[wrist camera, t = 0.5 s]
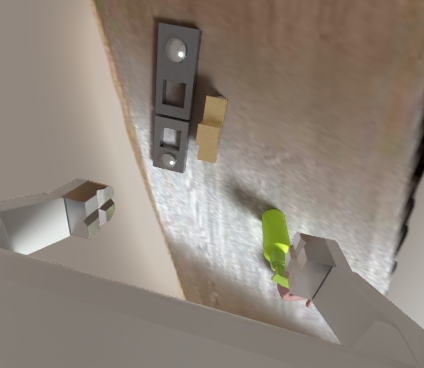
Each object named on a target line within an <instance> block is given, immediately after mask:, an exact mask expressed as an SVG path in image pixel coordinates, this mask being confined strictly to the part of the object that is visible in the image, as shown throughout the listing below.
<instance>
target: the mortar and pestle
mask: <svg viewBox="0 0 424 368" xmlns="http://www.w3.org/2000/svg"><path fill="white" fill-rule="evenodd" d="M284 273H285V276H286V277H289V275H290V274H289V273H288V272H287V271H284ZM277 288H278V291H279V294H280V296H281V297H282V299H283V300H285V301H296V300H302V299H306V298H303V297H299V296H296V295H293V294H290V292H289V288H286V287H284V286H282V285H280V284H278V283H277ZM312 303H313V302H312V300H309V299H308V301H307V302H306V306H307V307H308V308H309V307H310V305H311V304H312Z"/></svg>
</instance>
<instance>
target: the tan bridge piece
mask: <svg viewBox="0 0 424 368" xmlns="http://www.w3.org/2000/svg"><path fill="white" fill-rule="evenodd" d="M227 102H228V99H226V98H225V97H223V96H217V97H214V96H210V95H207V96H206V103H205V110H204V117H203V120H202V121H201V122H200V123H199V124H198V129H197V136H196V144H195V145H199V151H198V158H197V159H199V160H203V161H208V162H212V163H215V162H216V160H217V154H218V149H219V144H220V139H221V134H222V128H223V123H224V118H225V113H226V108H227Z"/></svg>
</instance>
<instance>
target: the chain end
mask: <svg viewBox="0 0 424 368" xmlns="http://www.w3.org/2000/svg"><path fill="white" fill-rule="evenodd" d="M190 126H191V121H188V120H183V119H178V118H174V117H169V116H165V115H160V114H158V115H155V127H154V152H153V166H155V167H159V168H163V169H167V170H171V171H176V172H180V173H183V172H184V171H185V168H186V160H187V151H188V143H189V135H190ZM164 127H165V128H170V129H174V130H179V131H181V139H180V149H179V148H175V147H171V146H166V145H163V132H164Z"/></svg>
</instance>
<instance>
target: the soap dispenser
mask: <svg viewBox="0 0 424 368" xmlns="http://www.w3.org/2000/svg"><path fill="white" fill-rule="evenodd" d="M262 230H263V254H264V257H265V258H266V259H267V260H268V261H270V267H271V269H272V270H273V271H275V274H274V275H273V276H272V277H271V279H272V280H273V281H275V282H277V283H278V284H280V285H282V286H284V287H286V288H289V286H288V280H287V279H288V277H286V276H285V273H284V271H286V268H285V258H286V253H287V251H288V248H289V247H291V246H290V241H289V236H288V231H287V226H286V221H285V216H284V214H283V213H282V212H281V211H280V210H277V209H269V210H267V211H265V212H264V213H263V215H262Z"/></svg>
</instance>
